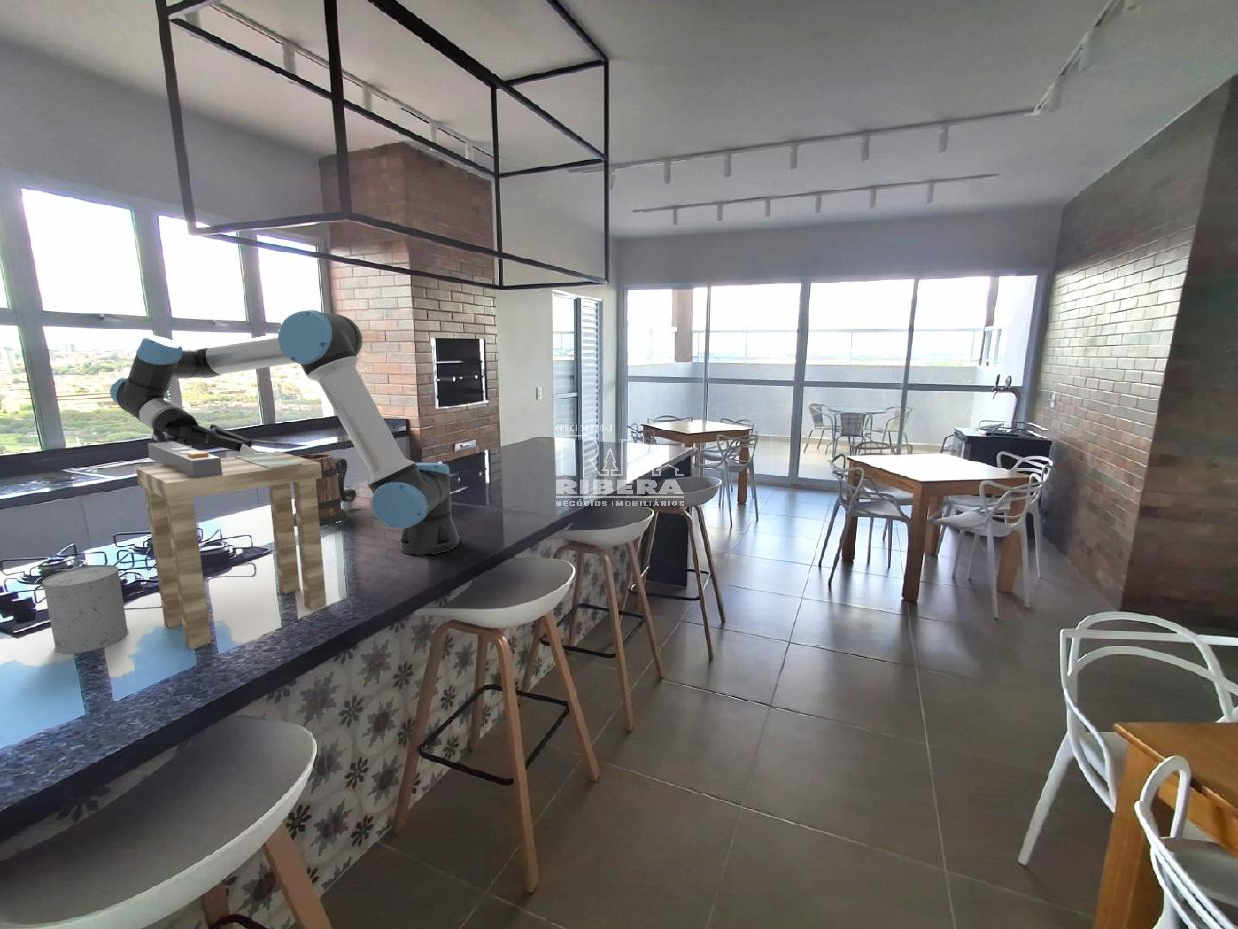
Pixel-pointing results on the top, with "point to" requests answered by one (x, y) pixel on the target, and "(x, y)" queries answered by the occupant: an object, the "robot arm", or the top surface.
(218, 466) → the power strip
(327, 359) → the robot arm
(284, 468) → the shelf stand
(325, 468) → the tankard
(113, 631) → the speckled concrete cylinder
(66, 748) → the top surface
